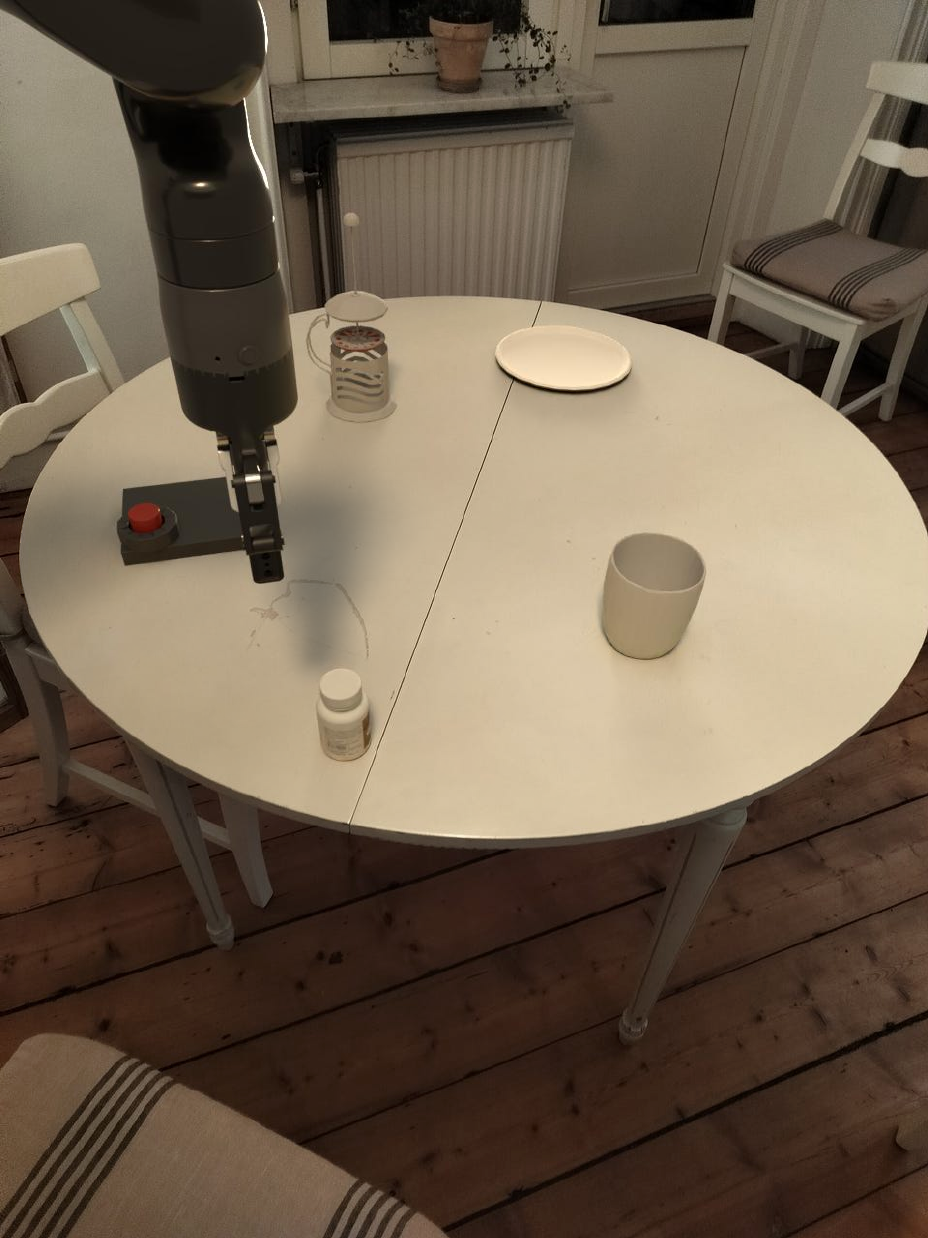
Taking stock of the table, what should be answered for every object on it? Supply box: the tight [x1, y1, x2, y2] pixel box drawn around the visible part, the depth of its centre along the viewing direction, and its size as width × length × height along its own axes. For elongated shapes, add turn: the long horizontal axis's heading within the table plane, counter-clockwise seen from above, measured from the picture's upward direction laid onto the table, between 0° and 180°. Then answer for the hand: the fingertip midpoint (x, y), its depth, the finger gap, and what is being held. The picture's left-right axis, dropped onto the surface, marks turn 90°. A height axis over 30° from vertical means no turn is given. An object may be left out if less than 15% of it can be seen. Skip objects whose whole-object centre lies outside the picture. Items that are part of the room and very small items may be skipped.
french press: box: [305, 212, 398, 423], centre depth 107 cm, size 10×12×25 cm
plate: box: [494, 324, 633, 392], centre depth 126 cm, size 21×21×1 cm
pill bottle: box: [315, 668, 372, 762], centre depth 70 cm, size 4×4×8 cm
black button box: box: [116, 476, 272, 567], centre depth 93 cm, size 16×12×4 cm
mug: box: [602, 531, 707, 659], centre depth 82 cm, size 13×9×10 cm
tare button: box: [128, 503, 163, 533], centre depth 89 cm, size 3×3×2 cm
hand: (263, 543), depth 63 cm, fingers open, 8 cm apart
